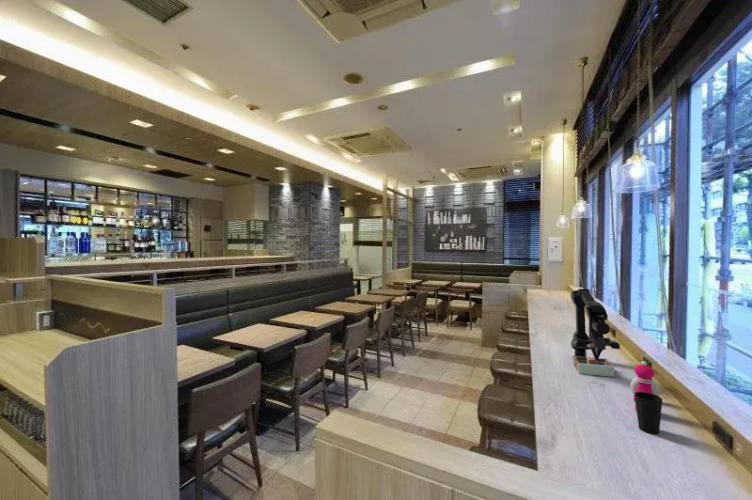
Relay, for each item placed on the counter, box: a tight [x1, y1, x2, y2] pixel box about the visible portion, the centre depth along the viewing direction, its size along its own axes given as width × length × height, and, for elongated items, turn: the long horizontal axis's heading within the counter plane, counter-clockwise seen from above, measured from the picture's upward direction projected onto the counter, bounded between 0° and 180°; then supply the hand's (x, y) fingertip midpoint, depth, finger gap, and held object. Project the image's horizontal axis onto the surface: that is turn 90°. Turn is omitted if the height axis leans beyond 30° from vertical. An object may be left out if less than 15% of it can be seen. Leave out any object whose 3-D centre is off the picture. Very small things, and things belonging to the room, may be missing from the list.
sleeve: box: [572, 355, 614, 373], centre depth 172 cm, size 12×15×5 cm
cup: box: [633, 392, 663, 435], centre depth 116 cm, size 8×8×12 cm
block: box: [586, 356, 598, 365], centre depth 173 cm, size 4×4×5 cm
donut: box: [629, 377, 661, 397], centre depth 138 cm, size 10×3×10 cm, turn 59°
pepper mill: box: [633, 360, 655, 412], centre depth 128 cm, size 7×7×20 cm
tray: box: [577, 360, 615, 378], centre depth 171 cm, size 12×15×5 cm
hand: (596, 360), depth 165 cm, fingers closed
